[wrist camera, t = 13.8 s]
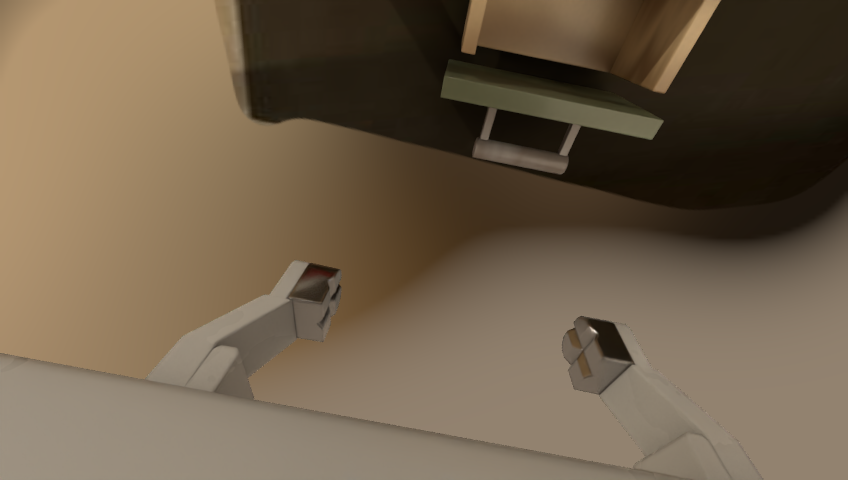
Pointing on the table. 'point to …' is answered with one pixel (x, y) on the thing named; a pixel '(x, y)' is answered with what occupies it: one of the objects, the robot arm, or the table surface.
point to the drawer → (579, 46)
